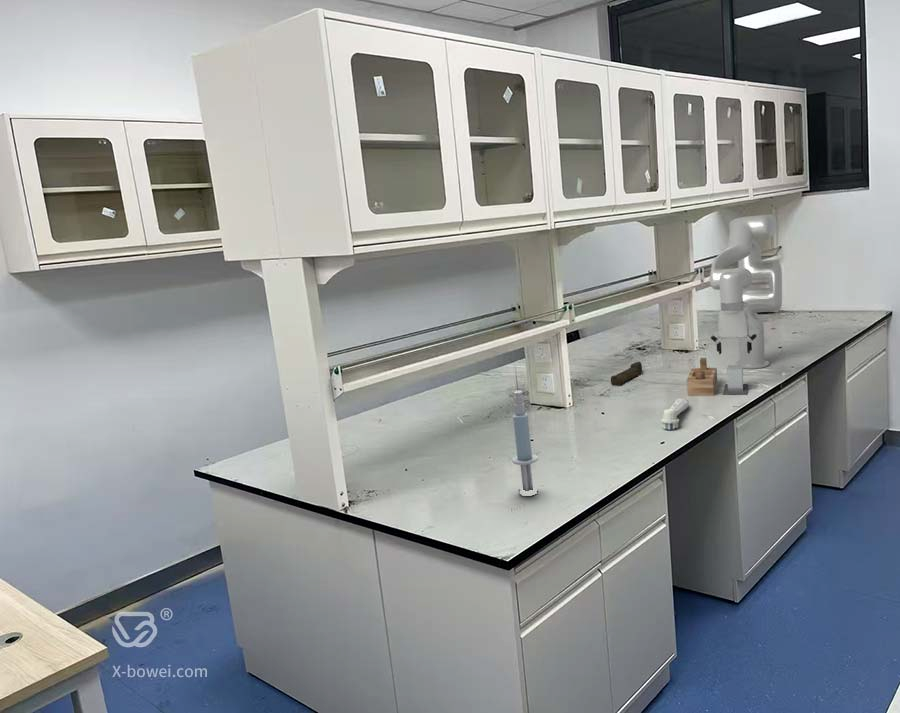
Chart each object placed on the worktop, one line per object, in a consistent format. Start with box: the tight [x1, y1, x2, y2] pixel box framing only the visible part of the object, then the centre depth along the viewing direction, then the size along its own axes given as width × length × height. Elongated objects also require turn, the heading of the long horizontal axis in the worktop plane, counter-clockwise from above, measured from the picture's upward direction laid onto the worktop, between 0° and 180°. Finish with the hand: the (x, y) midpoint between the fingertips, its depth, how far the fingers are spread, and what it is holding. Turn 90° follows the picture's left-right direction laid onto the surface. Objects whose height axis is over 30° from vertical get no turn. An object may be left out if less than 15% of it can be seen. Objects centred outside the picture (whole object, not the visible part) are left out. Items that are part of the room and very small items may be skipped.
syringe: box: [511, 366, 539, 491], centre depth 186 cm, size 6×7×36 cm
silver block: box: [726, 364, 744, 391], centre depth 259 cm, size 7×5×8 cm
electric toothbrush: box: [660, 397, 689, 430], centre depth 235 cm, size 5×7×25 cm
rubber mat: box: [722, 382, 749, 396], centre depth 260 cm, size 14×8×1 cm, turn 156°
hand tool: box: [610, 361, 643, 387], centre depth 292 cm, size 23×5×6 cm, turn 136°
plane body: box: [686, 357, 718, 397], centre depth 264 cm, size 18×9×10 cm, turn 156°
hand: (734, 352), depth 258 cm, fingers open, 9 cm apart
